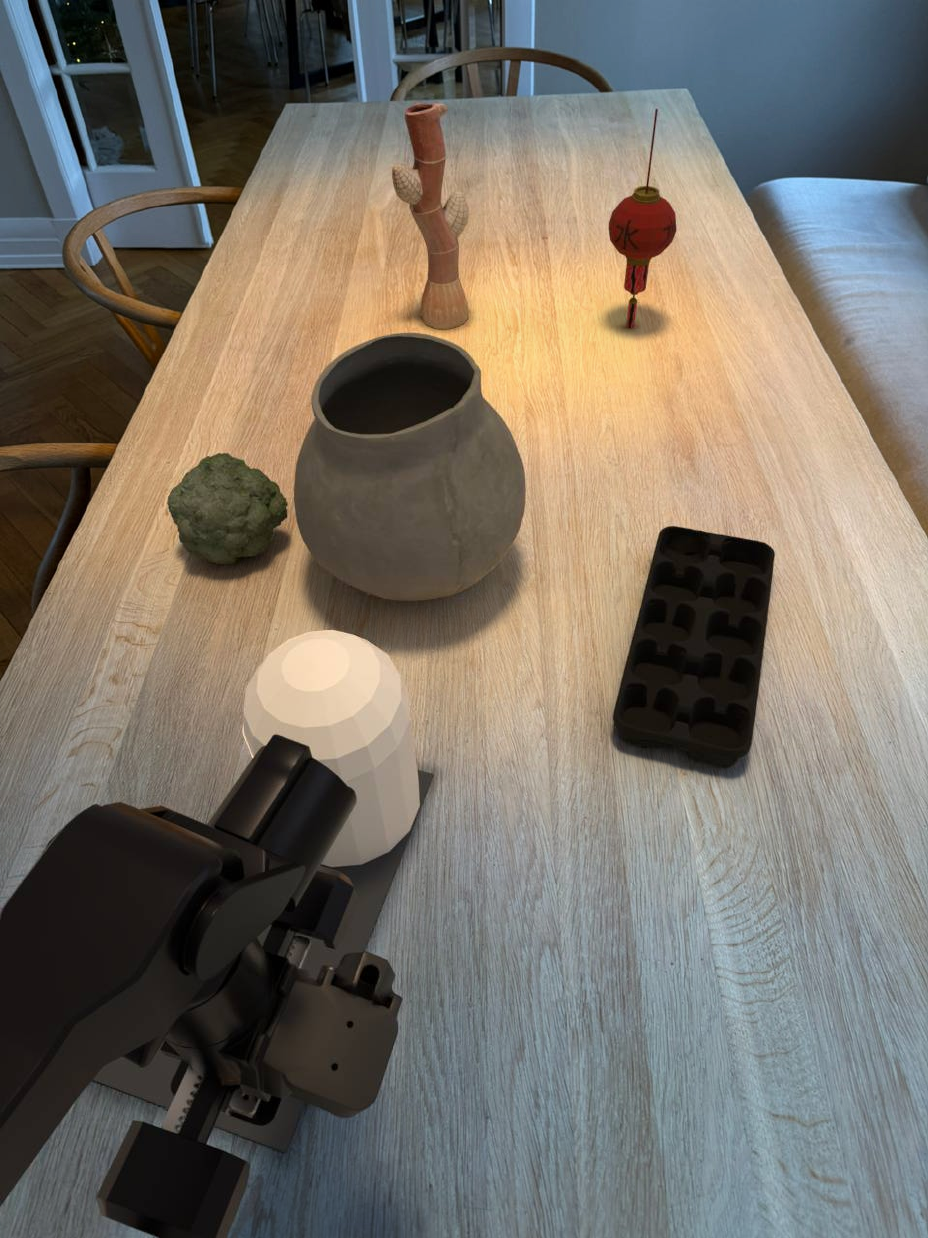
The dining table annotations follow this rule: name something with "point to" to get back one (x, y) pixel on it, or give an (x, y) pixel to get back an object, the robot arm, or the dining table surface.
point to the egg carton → (698, 647)
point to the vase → (434, 216)
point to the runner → (371, 895)
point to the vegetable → (226, 509)
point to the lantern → (641, 234)
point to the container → (343, 731)
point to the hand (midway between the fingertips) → (273, 1074)
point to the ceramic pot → (407, 471)
